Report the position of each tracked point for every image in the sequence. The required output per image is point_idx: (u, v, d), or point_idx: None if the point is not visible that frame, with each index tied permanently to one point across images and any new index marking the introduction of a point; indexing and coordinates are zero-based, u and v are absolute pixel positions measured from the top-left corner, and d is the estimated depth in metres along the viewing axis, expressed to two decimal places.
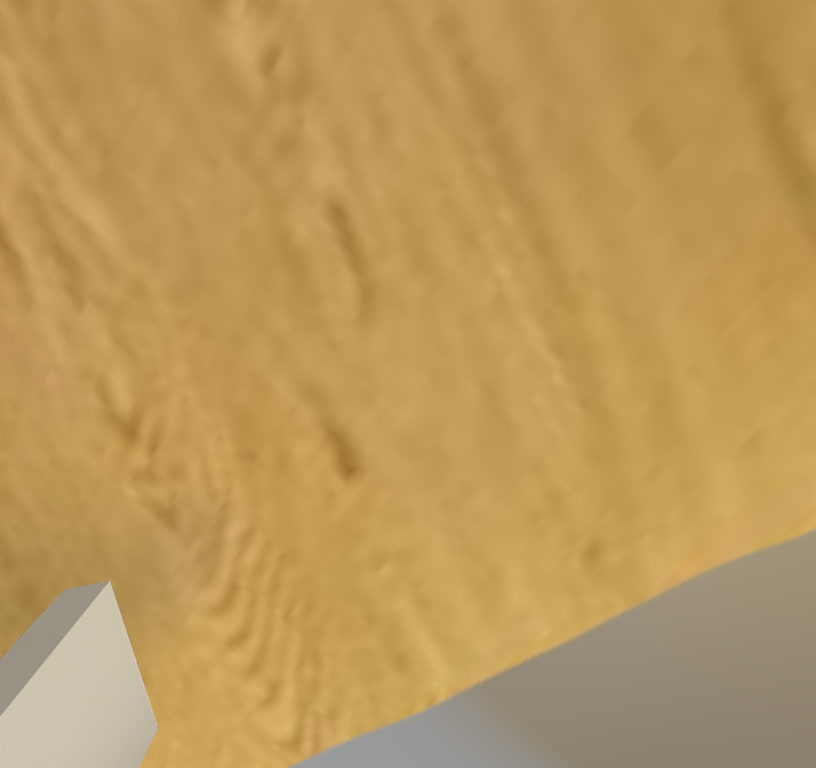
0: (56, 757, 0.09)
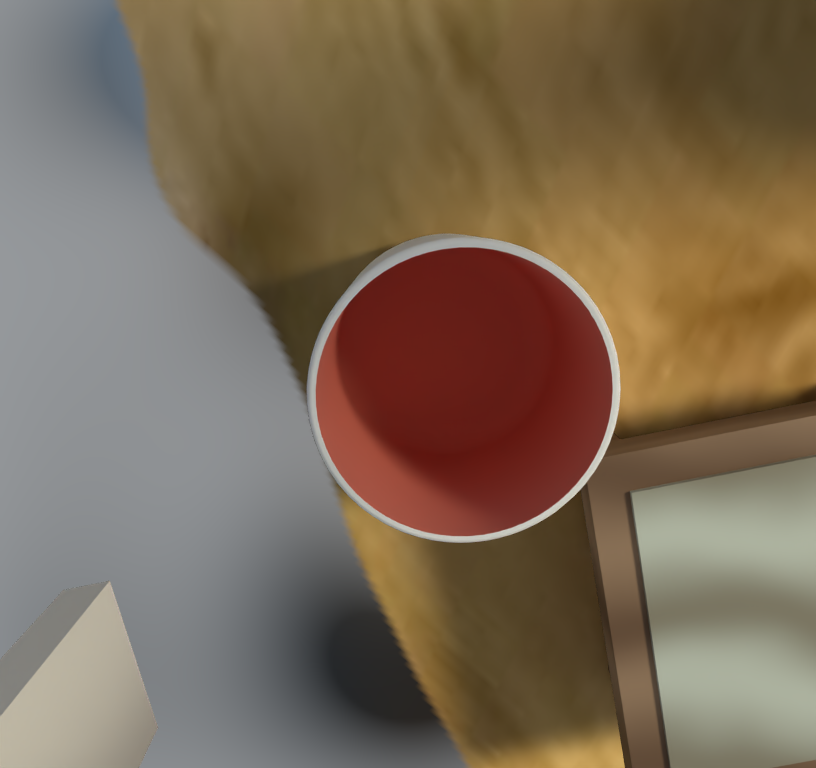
0: (56, 757, 0.09)
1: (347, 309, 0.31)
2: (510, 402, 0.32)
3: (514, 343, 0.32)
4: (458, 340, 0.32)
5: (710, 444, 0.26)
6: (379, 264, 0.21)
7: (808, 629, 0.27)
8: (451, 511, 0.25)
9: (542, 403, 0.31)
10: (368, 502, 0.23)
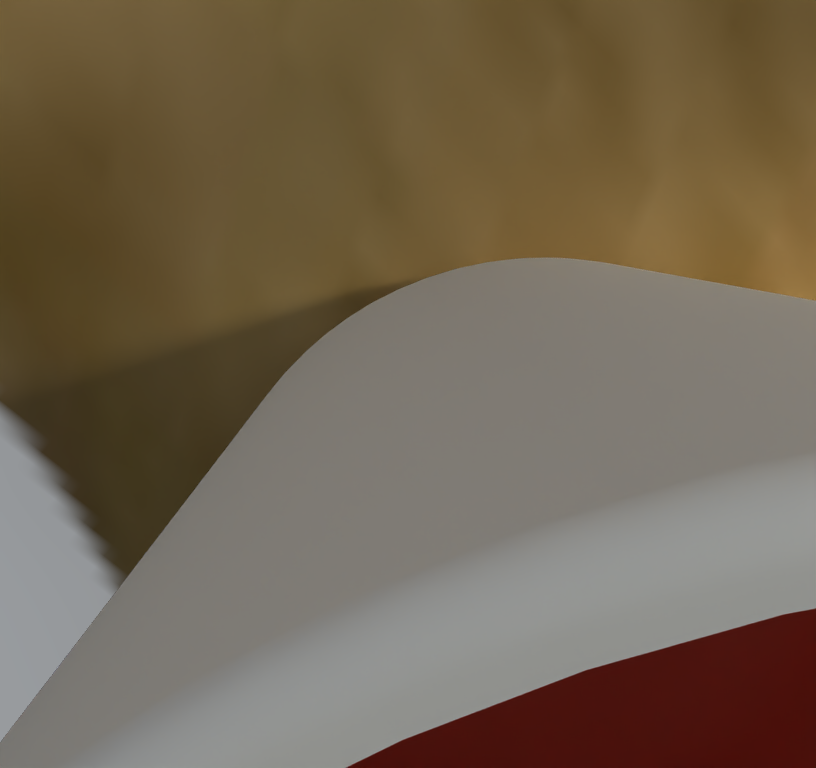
0: None
1: None
2: (684, 684, 0.13)
3: None
4: None
5: None
6: (170, 737, 0.02)
7: None
8: None
9: (803, 732, 0.11)
10: None
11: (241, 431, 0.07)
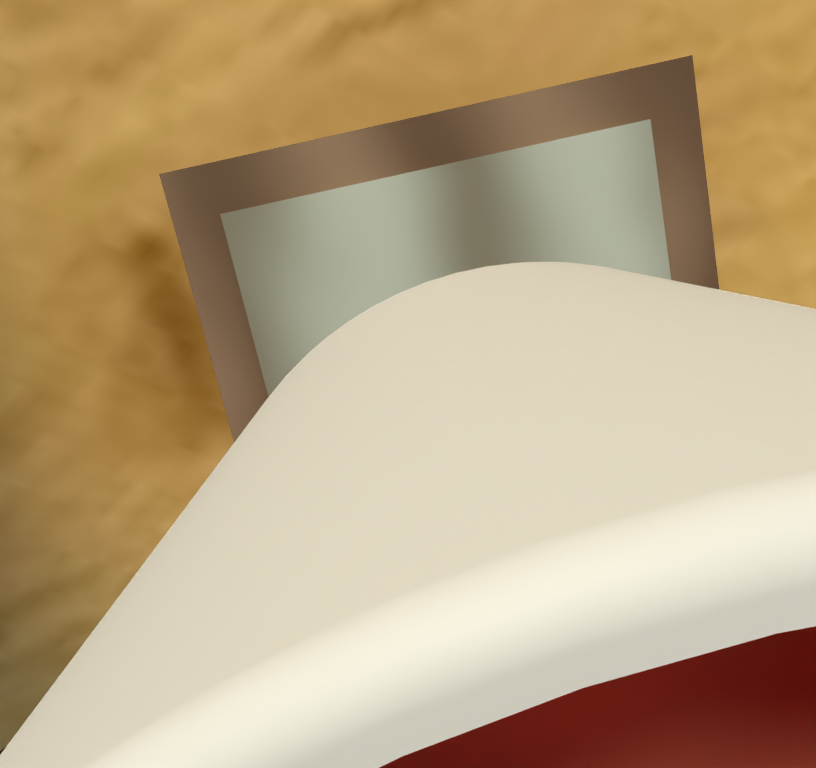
0: None
1: None
2: (682, 686, 0.13)
3: None
4: None
5: None
6: (172, 751, 0.02)
7: None
8: None
9: (802, 735, 0.11)
10: None
11: (241, 436, 0.07)
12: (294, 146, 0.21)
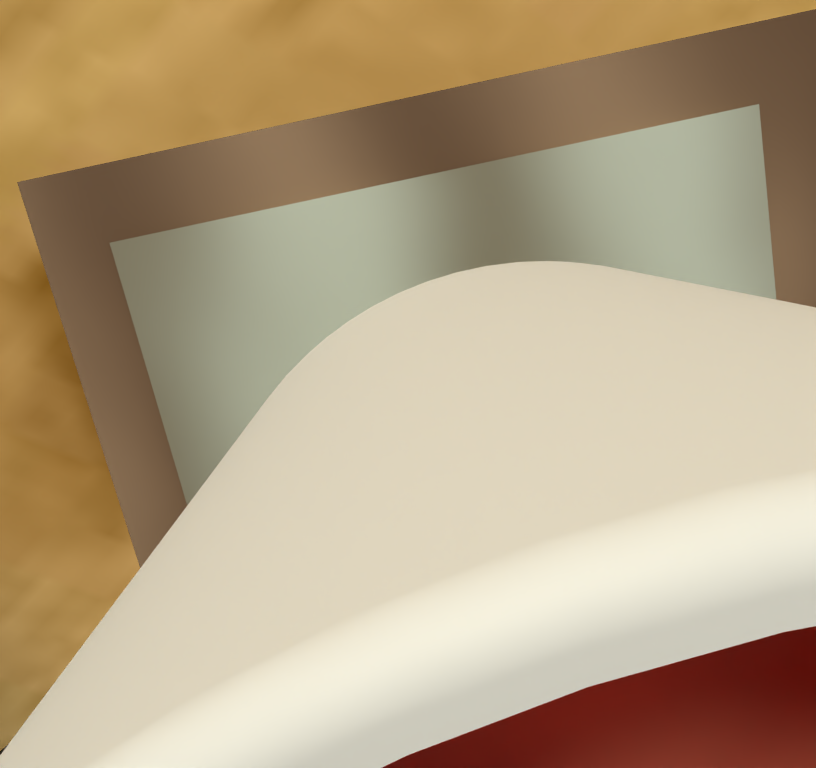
0: None
1: None
2: (683, 686, 0.13)
3: None
4: None
5: None
6: (175, 751, 0.02)
7: None
8: None
9: (803, 735, 0.11)
10: None
11: (242, 435, 0.07)
12: (221, 141, 0.14)
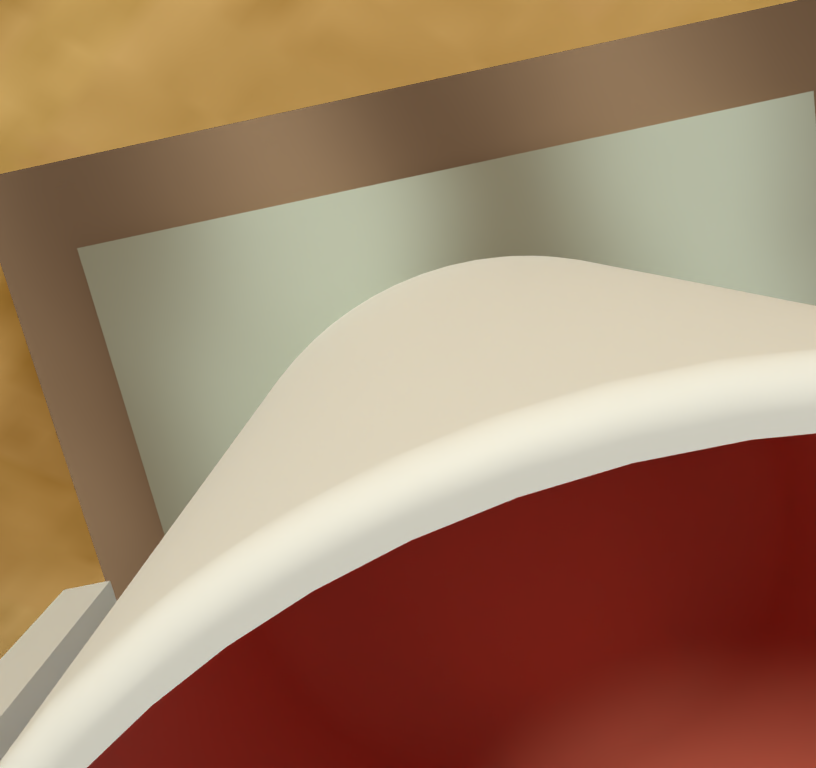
0: None
1: None
2: (656, 645, 0.14)
3: (672, 513, 0.13)
4: (539, 507, 0.13)
5: None
6: (268, 543, 0.03)
7: None
8: None
9: (761, 683, 0.12)
10: None
11: (263, 404, 0.08)
12: (202, 134, 0.12)
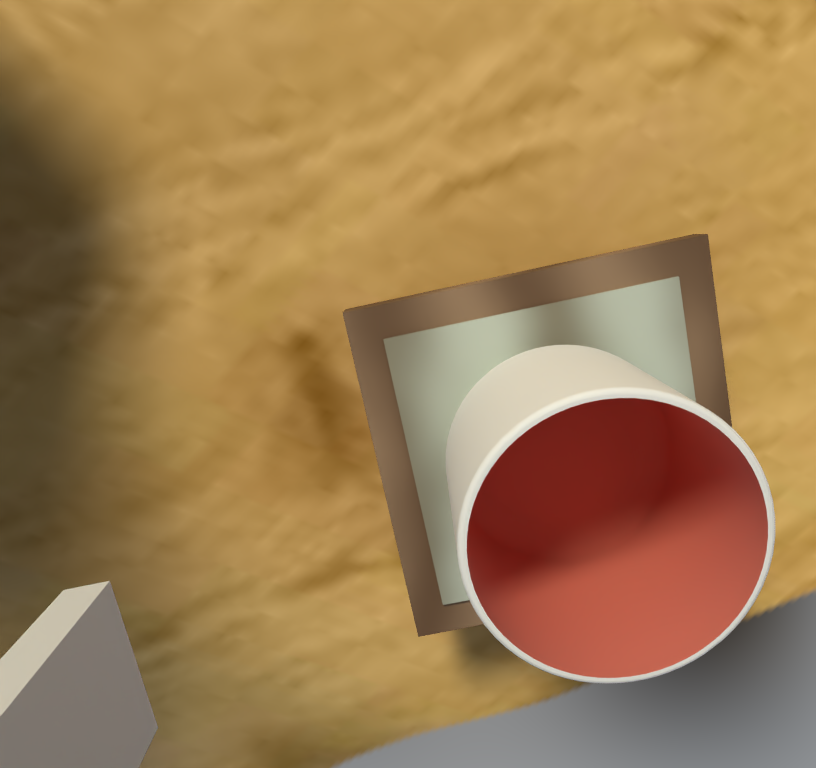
0: (56, 757, 0.09)
1: None
2: (621, 506, 0.32)
3: (626, 448, 0.32)
4: (570, 445, 0.32)
5: (404, 547, 0.33)
6: (535, 414, 0.21)
7: None
8: (587, 642, 0.25)
9: (659, 513, 0.30)
10: (514, 643, 0.23)
11: (485, 399, 0.27)
12: (434, 294, 0.31)
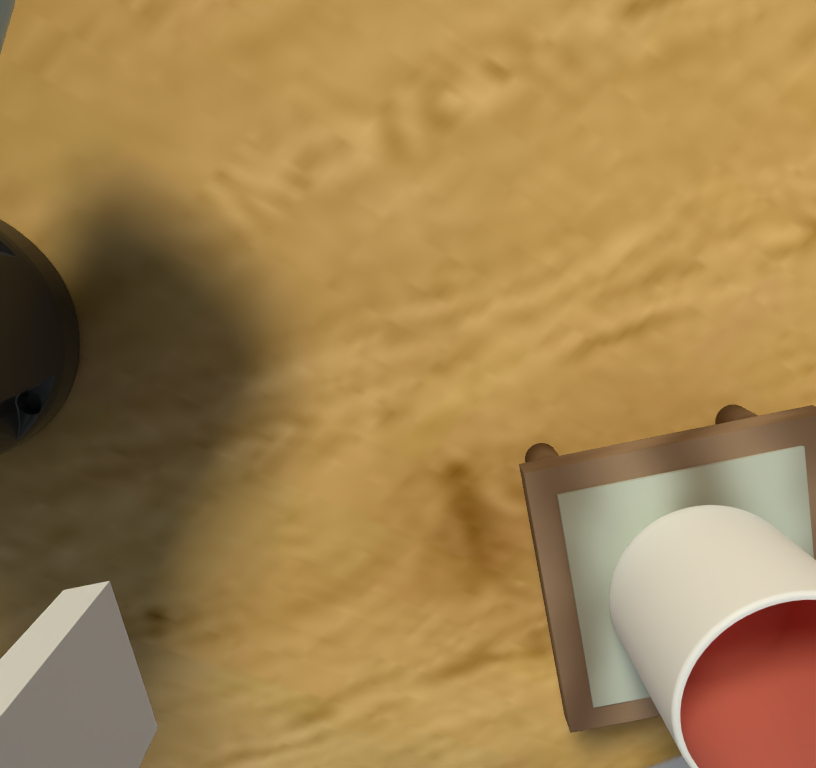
0: (56, 757, 0.09)
1: None
2: (748, 629, 0.38)
3: None
4: None
5: (563, 661, 0.39)
6: (741, 610, 0.28)
7: None
8: (753, 766, 0.32)
9: (786, 641, 0.37)
10: None
11: (664, 565, 0.33)
12: (601, 459, 0.37)
